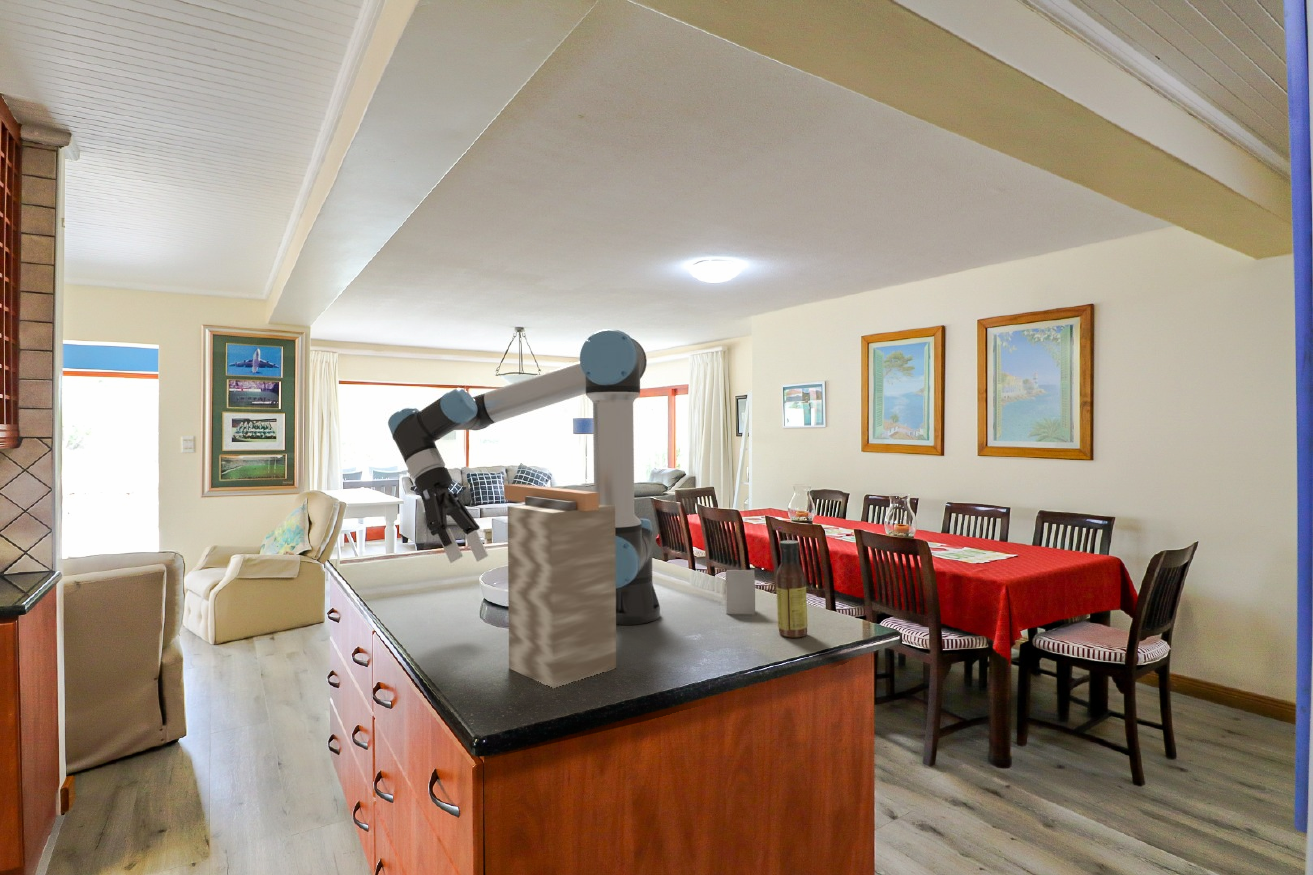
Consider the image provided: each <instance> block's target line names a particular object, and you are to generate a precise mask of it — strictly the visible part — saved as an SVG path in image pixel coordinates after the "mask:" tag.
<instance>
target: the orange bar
mask: <svg viewBox="0 0 1313 875" xmlns="http://www.w3.org/2000/svg"><path fill="white" fill-rule="evenodd" d="M503 485H504V494H503V495H504V498H503V499H504V501H510V502H519V503H524V504H525V496H534V497H542V498H550V499H558V500H566V501H574V502H576V510H581V511H590V510H599V492H594V491H588V490H580V489H571V488H570V489H569V488H561V487H559V488H558V487H549V486H541V485H531V484H523V483H509V484H503Z"/></svg>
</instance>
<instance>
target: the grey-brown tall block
mask: <svg viewBox="0 0 1313 875" xmlns="http://www.w3.org/2000/svg"><path fill="white" fill-rule="evenodd" d="M507 572H508V573H507V574H508V576H507V580H508V581H507V585H508V588H507V589H508V590H507V595H508V596H507V597H508V598H507V599H508V600H507V601H508V669H510V670H511V671H513V672H514V671H515V672H516V673H519V674H521V675H522V676H525V677H527V678H529V679H531V678H532V680H533V679H534V682H535V681H536V682H538V681H539V682H538V683H540V682H541V683H540V684H542V685H544V686H546V685H548V686H550V687H549V688H551V687H552V688H551V689H553V690H555V689H557V688H556V687H558V688H560V687H559V686H561V685H564V686H567V685H569V684H568V683H570V682H573V681H576V682H579V681H582V680H581V679H583V680H585V679H584V678H586V677H589V676H592V677H594V675H595V676H597V675H596V674H598V675H601V674H603V673H602V672H604V673H606V672H610V671H612V670H616V669H617V624H616V557H615V506H612V505H604V504H599V510H590V511H581V510H576V502H574V501H566V500H558V499H550V498H542V497H534V496H525V503H524V504H517V505H508V506H507ZM615 668H616V669H615ZM600 673H601V674H600ZM589 678H590V677H589ZM586 679H587V678H586ZM578 680H579V681H578ZM573 683H574V682H573ZM566 684H567V685H566ZM570 684H571V683H570ZM548 686H547V687H548ZM561 687H562V686H561ZM554 688H555V689H554Z"/></svg>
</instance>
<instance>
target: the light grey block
mask: <svg viewBox="0 0 1313 875" xmlns="http://www.w3.org/2000/svg"><path fill="white" fill-rule="evenodd" d="M755 576H756V575H755V569H741V570H740V569H726V570H725V614H726V615H756V578H755Z"/></svg>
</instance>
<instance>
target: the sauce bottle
mask: <svg viewBox="0 0 1313 875" xmlns="http://www.w3.org/2000/svg"><path fill="white" fill-rule="evenodd" d="M779 549H780V564H779V566H778V568H777V570H776V573H775V574H776V576H775V577H776V610H777V612H776V613H777V616H776V617H777V627H778V631H779V635H781V637H787V638H793V639H797V638H803V637H805V636H806V635H808V604H807V602H808V601H807V584H806V573H805V572H804V569H803V568H802V565H801V564H800V558H799V556H800V554H799V549H800V542H799V541H798V540H790V539H789V540H782V541H780V542H779Z"/></svg>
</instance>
